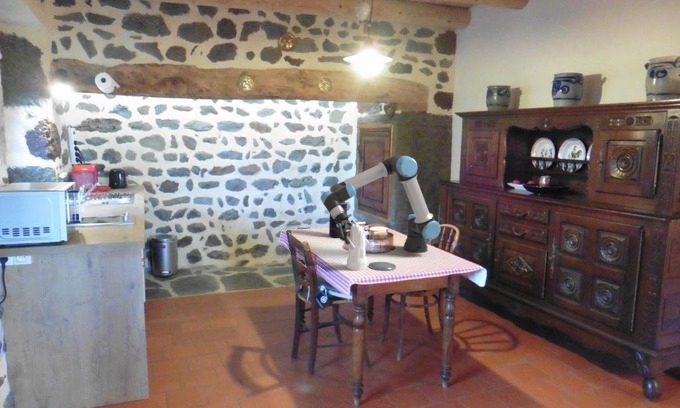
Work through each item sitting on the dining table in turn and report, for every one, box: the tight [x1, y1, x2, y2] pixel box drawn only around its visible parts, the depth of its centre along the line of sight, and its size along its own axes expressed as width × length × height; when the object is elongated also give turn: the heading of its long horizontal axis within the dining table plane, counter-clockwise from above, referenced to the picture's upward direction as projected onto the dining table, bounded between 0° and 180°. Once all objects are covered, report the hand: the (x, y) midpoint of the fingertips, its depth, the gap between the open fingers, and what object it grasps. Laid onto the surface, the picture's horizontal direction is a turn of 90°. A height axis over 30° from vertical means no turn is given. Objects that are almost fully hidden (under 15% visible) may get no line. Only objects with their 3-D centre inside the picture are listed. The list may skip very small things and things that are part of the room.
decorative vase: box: [346, 223, 368, 271], centre depth 264 cm, size 11×11×25 cm
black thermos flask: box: [328, 201, 348, 239], centre depth 341 cm, size 14×12×30 cm
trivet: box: [368, 261, 397, 272], centre depth 269 cm, size 15×15×1 cm
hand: (360, 246), depth 263 cm, fingers open, 13 cm apart
